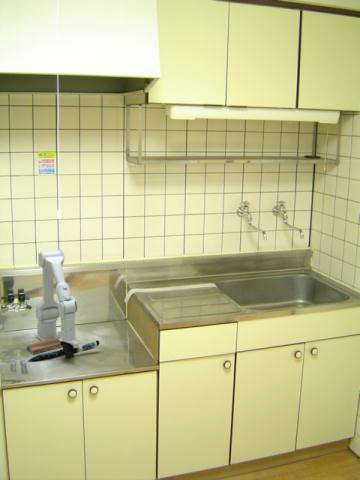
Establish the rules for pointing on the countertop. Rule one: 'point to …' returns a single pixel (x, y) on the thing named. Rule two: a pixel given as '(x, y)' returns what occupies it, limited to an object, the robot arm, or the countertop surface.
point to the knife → (61, 352)
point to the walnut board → (44, 346)
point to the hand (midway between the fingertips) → (68, 357)
